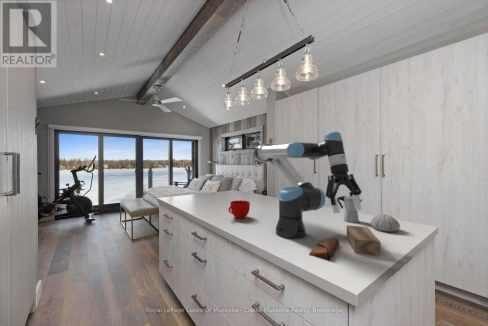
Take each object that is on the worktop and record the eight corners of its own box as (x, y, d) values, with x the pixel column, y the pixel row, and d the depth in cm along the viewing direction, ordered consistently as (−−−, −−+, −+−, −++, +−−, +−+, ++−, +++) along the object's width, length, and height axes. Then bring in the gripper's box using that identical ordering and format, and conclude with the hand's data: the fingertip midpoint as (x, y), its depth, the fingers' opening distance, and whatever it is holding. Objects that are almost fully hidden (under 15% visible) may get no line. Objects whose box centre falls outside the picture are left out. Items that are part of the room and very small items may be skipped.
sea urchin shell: (368, 230, 114) (368, 215, 114) (372, 224, 124) (372, 210, 124) (398, 235, 105) (399, 219, 105) (400, 228, 115) (400, 214, 115)
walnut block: (354, 253, 85) (355, 239, 85) (346, 237, 103) (346, 225, 103) (380, 256, 82) (380, 241, 82) (367, 239, 100) (367, 227, 100)
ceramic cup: (221, 218, 134) (221, 203, 134) (239, 213, 147) (239, 199, 147) (236, 222, 125) (236, 206, 125) (253, 217, 138) (253, 202, 138)
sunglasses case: (319, 240, 98) (327, 229, 96) (333, 251, 94) (341, 240, 92) (307, 255, 83) (316, 242, 81) (323, 268, 79) (333, 256, 77)
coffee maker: (364, 221, 129) (364, 192, 129) (360, 224, 123) (361, 194, 122) (338, 217, 139) (339, 190, 139) (334, 219, 132) (334, 191, 132)
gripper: (324, 163, 89) (333, 214, 85) (363, 162, 99) (374, 207, 95) (312, 167, 96) (320, 214, 91) (350, 165, 106) (359, 208, 102)
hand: (347, 211), depth 93 cm, fingers open, 13 cm apart
